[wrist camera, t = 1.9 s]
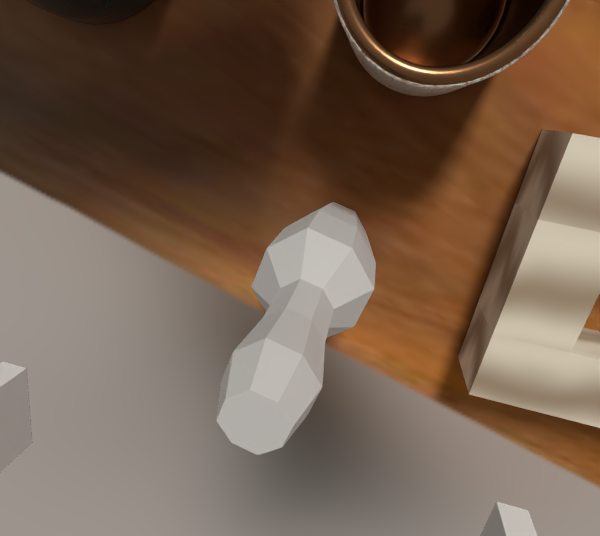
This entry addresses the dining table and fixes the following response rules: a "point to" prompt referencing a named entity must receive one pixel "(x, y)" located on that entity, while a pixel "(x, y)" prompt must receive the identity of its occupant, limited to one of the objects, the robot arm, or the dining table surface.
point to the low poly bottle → (295, 325)
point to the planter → (443, 39)
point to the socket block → (544, 290)
